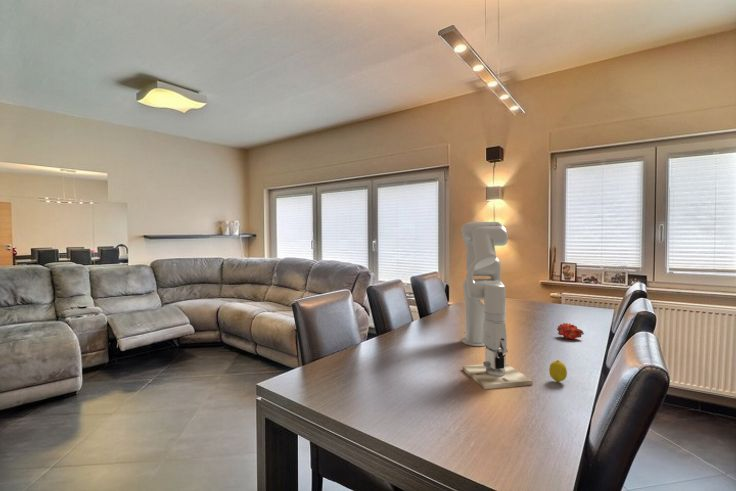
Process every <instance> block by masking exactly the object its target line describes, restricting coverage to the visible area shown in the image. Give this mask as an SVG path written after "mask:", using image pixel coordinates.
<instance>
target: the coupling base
mask: <svg viewBox="0 0 736 491" xmlns="http://www.w3.org/2000/svg"><path fill="white" fill-rule="evenodd" d="M461 368H462V369H461V370H462V371H463V372H465V374H467V375H468V377H470V378H471V379H472V380H474V381H475V382H476V383H477V384H478V385H479V386H481V387H482V389H484V390H492V389H502V388H513V387H522V386H523V387H524V386H533V382H534V381H533V380H532V379H531V378H529V377H528V376H526V375H525V374H523V373H522V372H520V371H518V370H517V369H516V368H514V367H513V366H510V365H509V364H508V363H506V367H504V368H502V369H496V368H495V369H493V368H492V367H490V366H489V367H485V366H483V363H482V364H472V365H471V364H470V365H469V364H468V365H462V366H461Z"/></svg>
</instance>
